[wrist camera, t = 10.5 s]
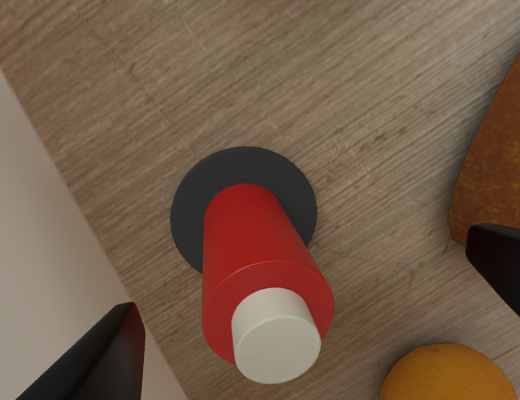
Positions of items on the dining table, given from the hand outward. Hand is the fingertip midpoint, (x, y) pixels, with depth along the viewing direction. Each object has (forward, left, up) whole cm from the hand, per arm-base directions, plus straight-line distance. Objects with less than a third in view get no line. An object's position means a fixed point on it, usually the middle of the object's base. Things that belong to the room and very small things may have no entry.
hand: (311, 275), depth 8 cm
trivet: (-1, -4, -13) cm, 13 cm away
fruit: (+12, -23, -13) cm, 29 cm away
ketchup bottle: (-1, -4, -12) cm, 12 cm away
